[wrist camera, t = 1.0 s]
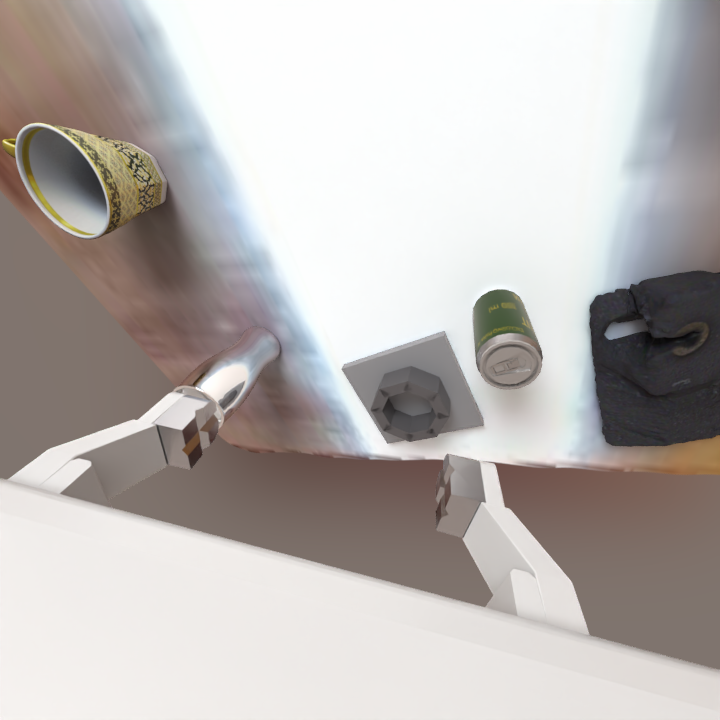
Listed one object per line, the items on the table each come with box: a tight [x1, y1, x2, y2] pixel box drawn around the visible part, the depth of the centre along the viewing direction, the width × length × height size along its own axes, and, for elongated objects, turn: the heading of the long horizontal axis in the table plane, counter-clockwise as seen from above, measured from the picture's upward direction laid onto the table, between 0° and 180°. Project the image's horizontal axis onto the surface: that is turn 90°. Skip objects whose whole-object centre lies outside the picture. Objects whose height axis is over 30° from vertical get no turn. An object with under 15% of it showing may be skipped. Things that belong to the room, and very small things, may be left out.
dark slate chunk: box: [590, 271, 720, 446], centre depth 35 cm, size 15×22×5 cm
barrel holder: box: [342, 331, 484, 444], centre depth 45 cm, size 15×15×5 cm
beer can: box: [473, 290, 543, 389], centre depth 33 cm, size 5×5×12 cm
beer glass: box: [173, 326, 280, 428], centre depth 43 cm, size 7×7×15 cm
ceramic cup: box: [2, 123, 167, 239], centre depth 36 cm, size 13×10×10 cm
